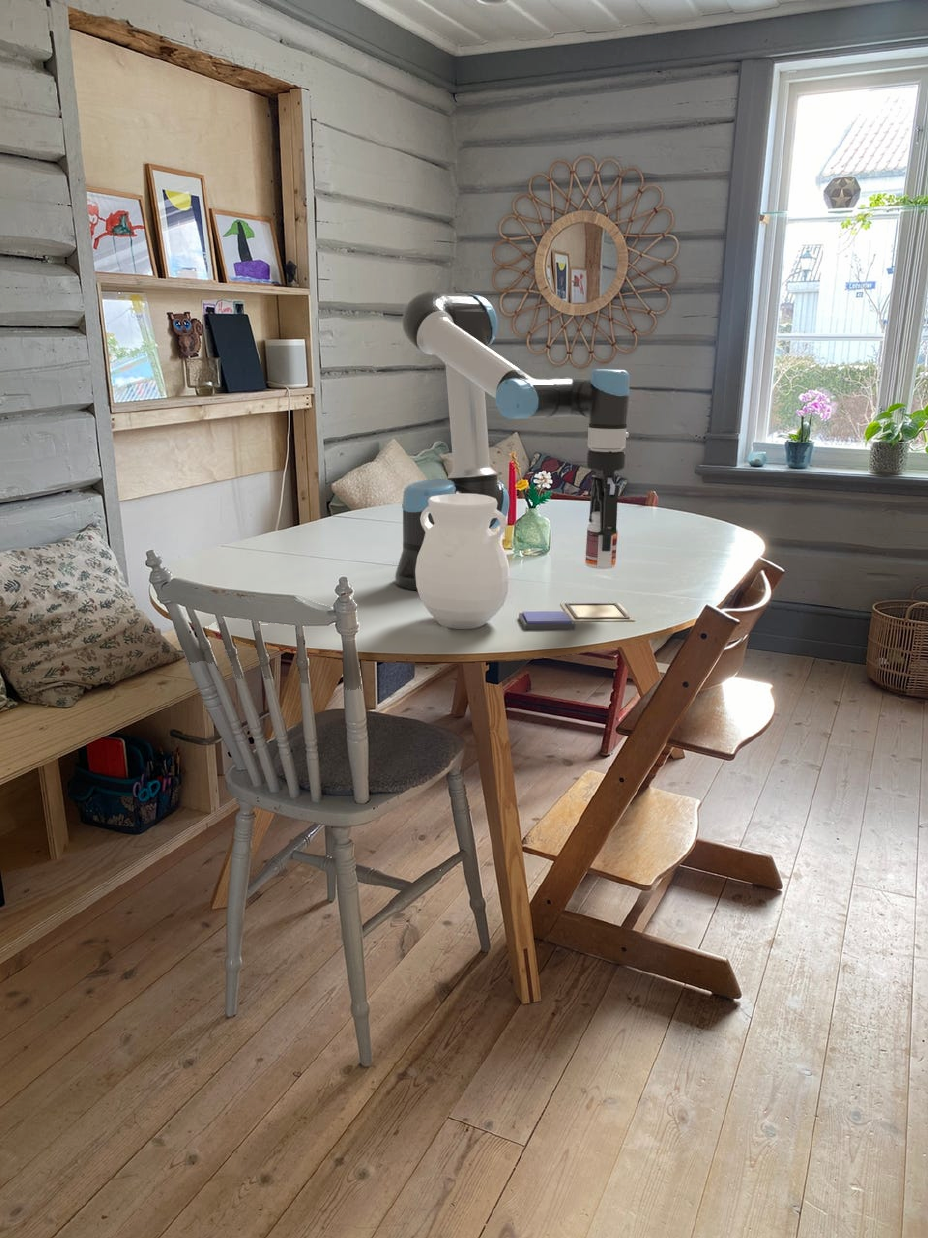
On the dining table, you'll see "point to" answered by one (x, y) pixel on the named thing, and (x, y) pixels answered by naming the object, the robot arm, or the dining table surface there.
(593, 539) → the pill bottle
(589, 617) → the cream flat square
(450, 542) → the white ceramic vase
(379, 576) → the dining table surface
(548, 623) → the ink pad
